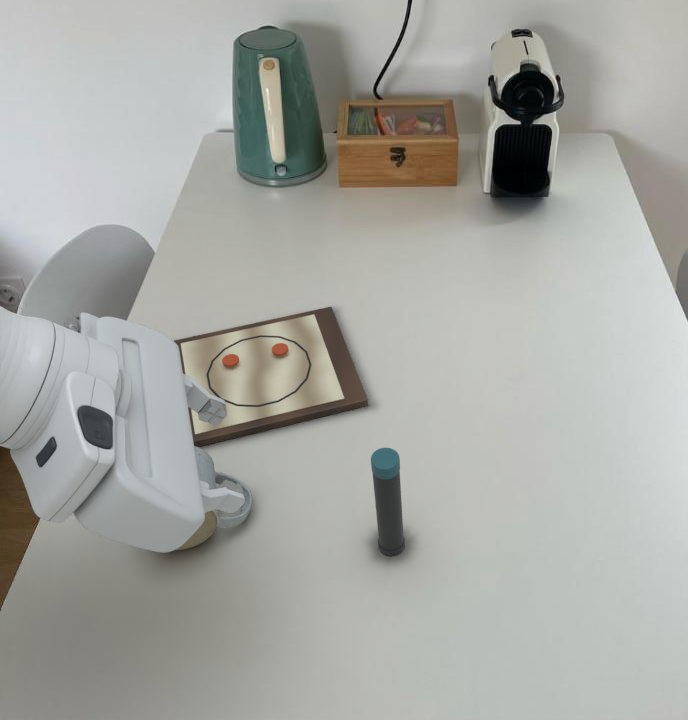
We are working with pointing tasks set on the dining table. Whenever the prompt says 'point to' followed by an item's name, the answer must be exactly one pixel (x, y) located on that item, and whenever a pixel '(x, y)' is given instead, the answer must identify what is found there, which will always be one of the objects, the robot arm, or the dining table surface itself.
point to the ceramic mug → (211, 517)
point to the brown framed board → (272, 374)
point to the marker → (388, 500)
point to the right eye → (279, 349)
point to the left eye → (230, 360)
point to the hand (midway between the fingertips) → (230, 454)
